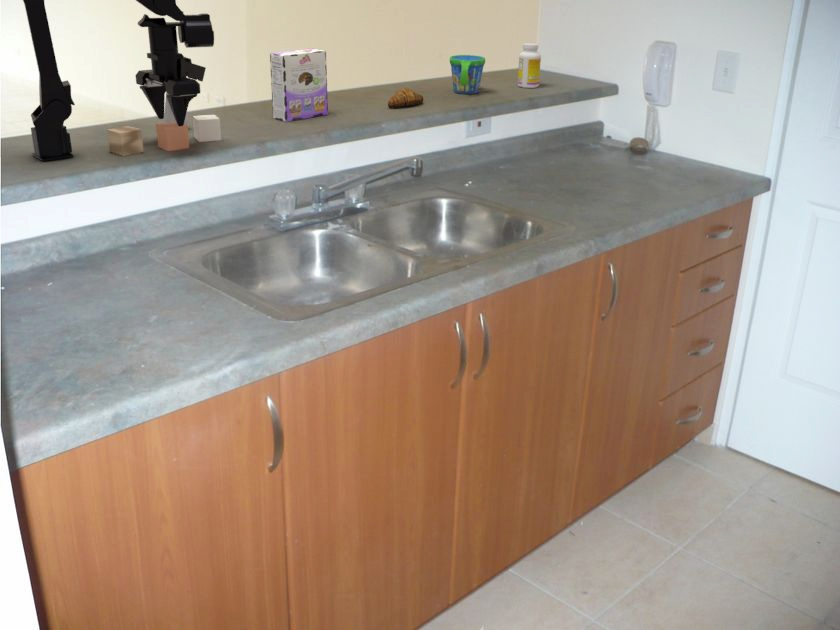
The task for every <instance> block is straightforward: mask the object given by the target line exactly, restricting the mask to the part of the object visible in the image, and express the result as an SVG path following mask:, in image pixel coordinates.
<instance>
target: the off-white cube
mask: <svg viewBox="0 0 840 630" xmlns="http://www.w3.org/2000/svg"><path fill="white" fill-rule="evenodd" d="M192 124H193V125H192V126H193V135H194V139H196V140H197V141H198V142H199V143H203V142H204V143H205V142H206V143H207V142H214V141H215V142H218V141H222V132H221V130H222V129H221V119H220V117H218V116H217V115H215V114H204V115H202V114H201V115H193V116H192Z"/></svg>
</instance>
